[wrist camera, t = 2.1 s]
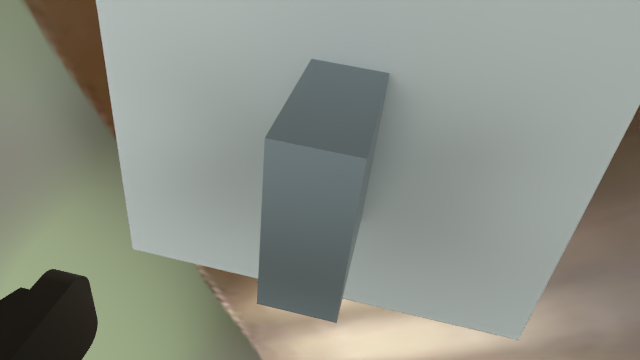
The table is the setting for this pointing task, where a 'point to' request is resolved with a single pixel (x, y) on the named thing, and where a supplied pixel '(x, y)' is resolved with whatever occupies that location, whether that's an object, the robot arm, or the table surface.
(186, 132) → the lid
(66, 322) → the robot arm
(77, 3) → the table surface
